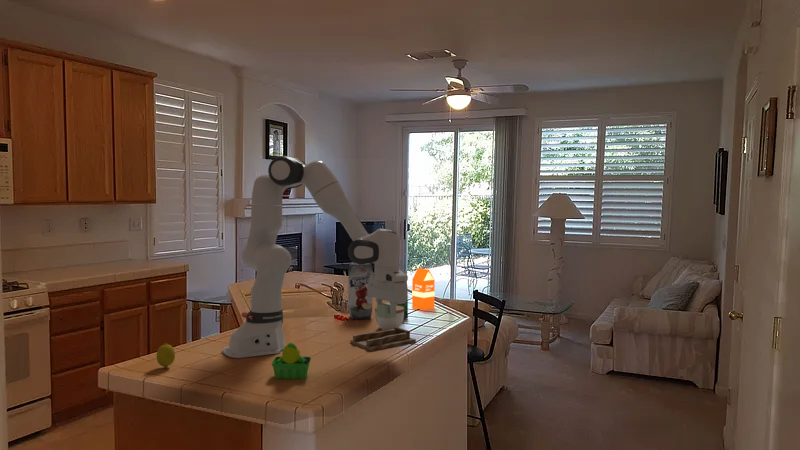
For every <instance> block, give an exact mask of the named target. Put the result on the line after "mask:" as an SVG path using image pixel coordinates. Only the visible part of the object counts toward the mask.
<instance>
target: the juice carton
mask: <svg viewBox="0 0 800 450" xmlns="http://www.w3.org/2000/svg"><path fill="white" fill-rule="evenodd" d="M372 272H373V265H372V263H367V264H364V265H360V264H356V263H354V262H349V263H348V279H347V281H348V284H347V285H348V286H347V287H348V289H347V290H348V292H347V293H348V294H347V296H348V299H347V301H348V313H349V317H350V318H351V319H352V320H368V319H371V317H372V314H373V297H370V296H368V293H367V289H368V280H369V278H370V274H371V273H372Z"/></svg>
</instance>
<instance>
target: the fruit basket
mask: <svg viewBox="0 0 800 450" xmlns="http://www.w3.org/2000/svg"><path fill="white" fill-rule="evenodd" d="M300 354H301V353H300V349H299V348H298V346H296V344H295V343H293V342H289V343H288V344H286V346H285V347H284V349H283V350H282V355H281V356H275V357H274V359H273V360H272V361H271V366H272V368H273V369H272V370H273V373H274V376H275V379H292V380H293V379H299V380H300V379H302V380H303V379H305V378H306V377H307V374H308V370H309V367H310V362H311V360H312V357H311V356H303V355H300Z"/></svg>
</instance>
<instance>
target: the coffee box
mask: <svg viewBox="0 0 800 450" xmlns="http://www.w3.org/2000/svg"><path fill="white" fill-rule="evenodd" d="M408 297H409V294H408V295H407V301H406V303H402V304H397V306H402V307H404V319H403V320H407V319H409V303H408V302H409V301H408Z"/></svg>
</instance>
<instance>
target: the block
mask: <svg viewBox="0 0 800 450" xmlns="http://www.w3.org/2000/svg"><path fill="white" fill-rule="evenodd" d="M390 306H391V305H390V302H384V303H383V302H382V303H381V304H377V303H376V307H377V317H380V318H384V319H387V318H394V317H396V308H395V313H394V314H389V313H388V309H390Z"/></svg>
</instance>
